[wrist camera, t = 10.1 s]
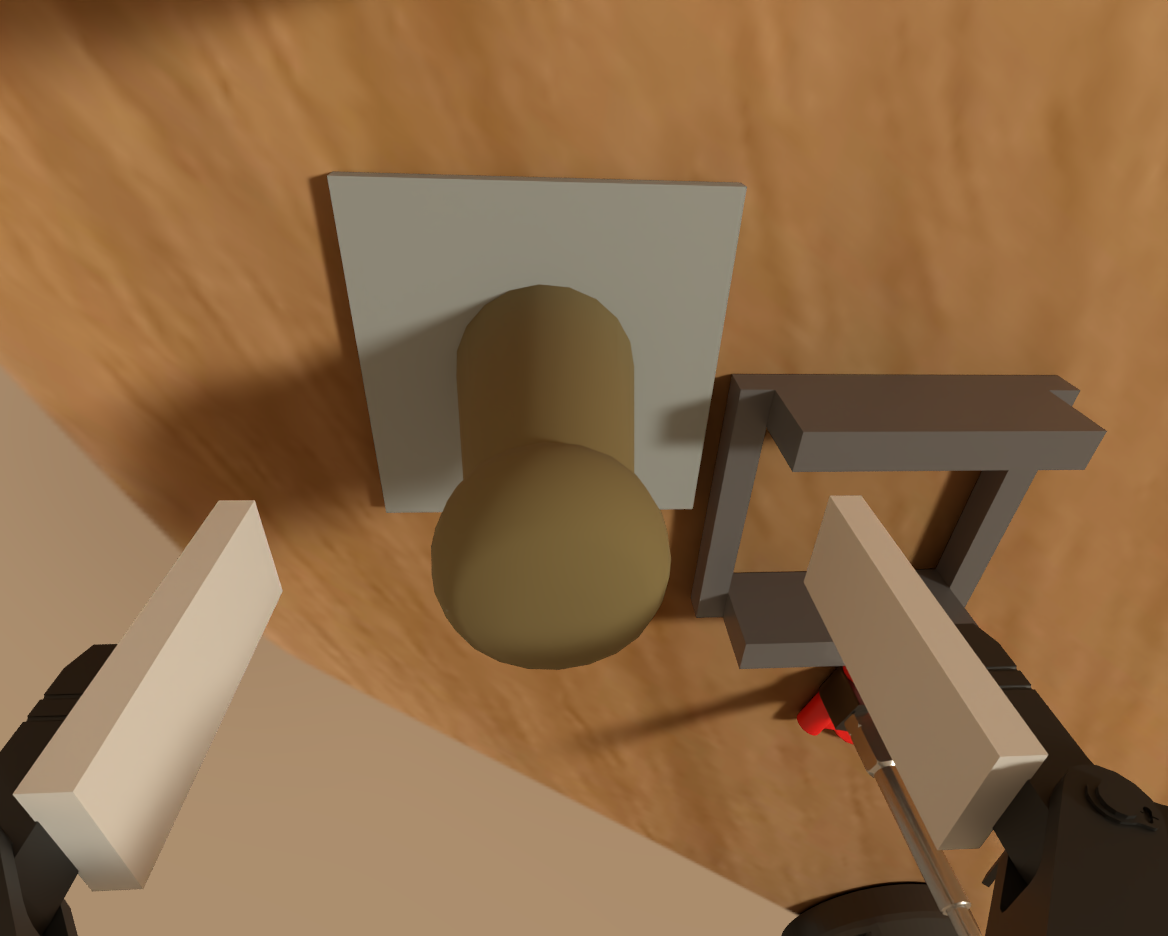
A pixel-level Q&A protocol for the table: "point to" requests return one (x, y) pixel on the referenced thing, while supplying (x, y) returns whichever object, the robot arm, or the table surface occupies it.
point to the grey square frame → (876, 443)
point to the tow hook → (888, 788)
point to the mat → (521, 259)
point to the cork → (548, 488)
